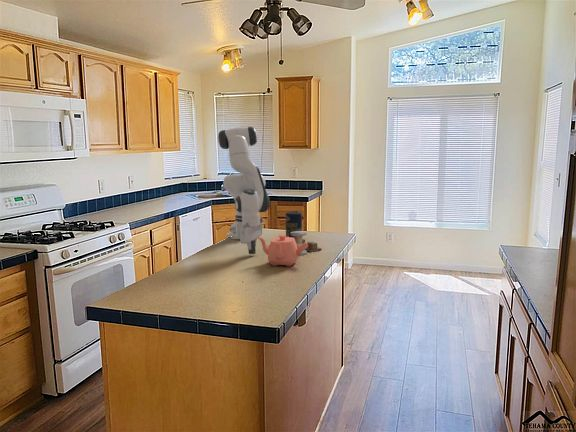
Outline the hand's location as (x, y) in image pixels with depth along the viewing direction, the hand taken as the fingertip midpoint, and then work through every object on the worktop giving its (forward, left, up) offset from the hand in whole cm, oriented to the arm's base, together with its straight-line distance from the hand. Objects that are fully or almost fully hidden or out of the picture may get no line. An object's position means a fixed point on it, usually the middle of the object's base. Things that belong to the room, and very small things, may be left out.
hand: (251, 248), depth 233 cm
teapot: (+23, +4, -4) cm, 23 cm away
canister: (-15, +36, -4) cm, 40 cm away
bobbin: (+11, +21, -4) cm, 25 cm away
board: (+4, +31, -4) cm, 32 cm away
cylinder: (0, 0, -3) cm, 3 cm away
